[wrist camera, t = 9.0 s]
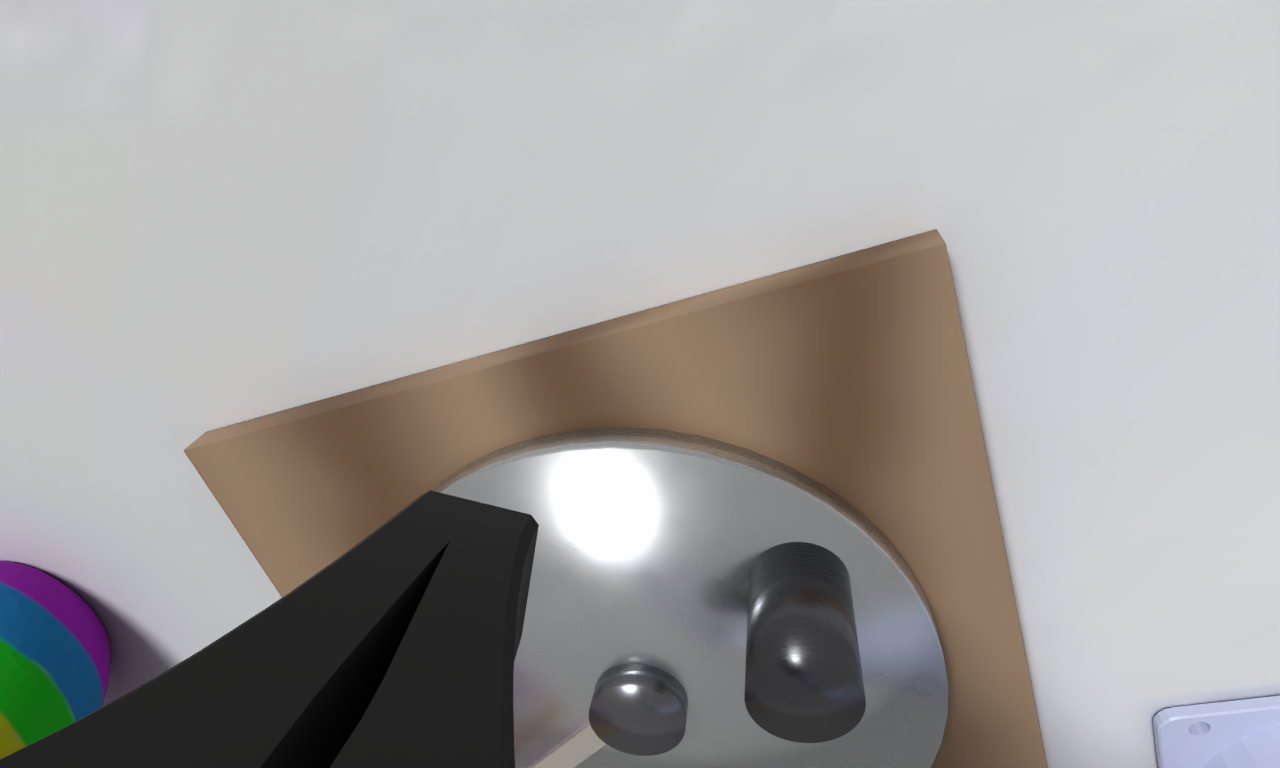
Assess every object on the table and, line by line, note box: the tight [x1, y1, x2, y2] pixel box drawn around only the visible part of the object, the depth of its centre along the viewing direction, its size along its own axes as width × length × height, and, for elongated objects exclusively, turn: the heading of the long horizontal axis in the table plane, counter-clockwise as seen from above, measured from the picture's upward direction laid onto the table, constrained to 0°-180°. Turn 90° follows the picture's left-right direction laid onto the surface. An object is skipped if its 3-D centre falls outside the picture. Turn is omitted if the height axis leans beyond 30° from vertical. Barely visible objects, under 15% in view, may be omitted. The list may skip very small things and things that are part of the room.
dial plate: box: [184, 229, 1047, 768], centre depth 22 cm, size 20×20×4 cm
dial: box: [432, 427, 948, 768], centre depth 21 cm, size 16×16×5 cm
